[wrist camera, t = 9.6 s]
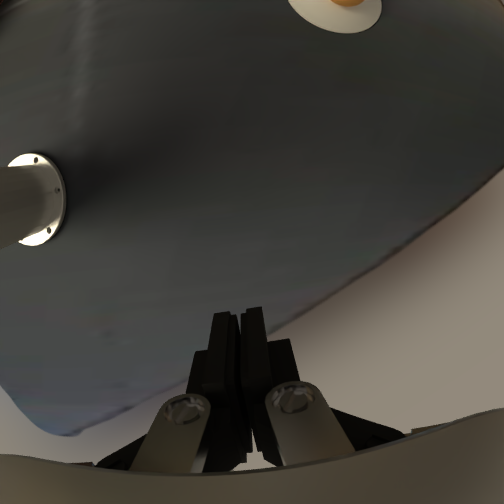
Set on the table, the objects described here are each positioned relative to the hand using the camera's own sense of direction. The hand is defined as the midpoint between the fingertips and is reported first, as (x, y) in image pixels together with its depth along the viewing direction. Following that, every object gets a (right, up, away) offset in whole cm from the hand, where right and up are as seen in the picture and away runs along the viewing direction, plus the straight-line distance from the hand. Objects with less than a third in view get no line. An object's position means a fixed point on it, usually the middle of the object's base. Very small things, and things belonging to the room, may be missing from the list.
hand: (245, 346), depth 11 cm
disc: (+11, +36, +18) cm, 42 cm away
